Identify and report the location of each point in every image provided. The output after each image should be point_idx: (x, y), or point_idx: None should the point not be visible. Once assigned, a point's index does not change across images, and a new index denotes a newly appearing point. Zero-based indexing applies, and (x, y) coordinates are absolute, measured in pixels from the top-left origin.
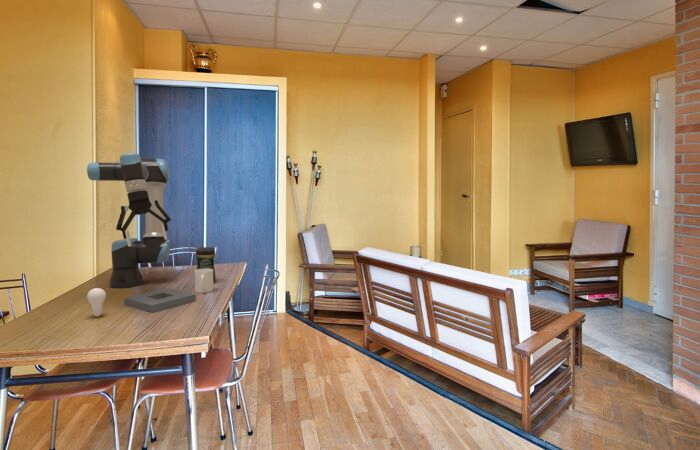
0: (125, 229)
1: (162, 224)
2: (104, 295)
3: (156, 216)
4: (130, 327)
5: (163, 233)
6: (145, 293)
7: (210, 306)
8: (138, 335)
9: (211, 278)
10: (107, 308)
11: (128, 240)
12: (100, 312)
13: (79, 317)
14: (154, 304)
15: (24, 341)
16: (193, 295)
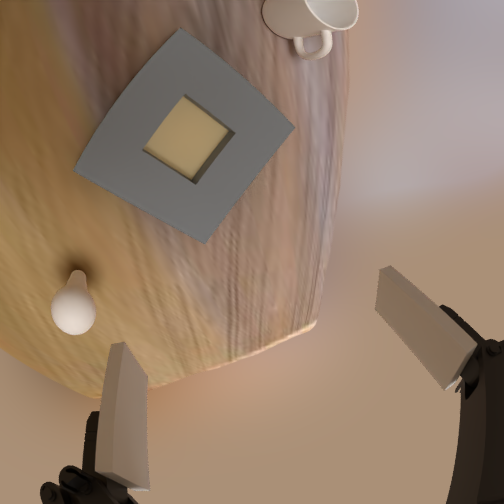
0: (118, 493)
1: (446, 381)
2: (95, 309)
3: (464, 456)
4: (197, 319)
5: (400, 336)
6: (119, 104)
7: (321, 179)
8: (229, 341)
9: (337, 24)
10: (51, 207)
11: (142, 413)
12: (85, 280)
13: (45, 283)
14: (208, 236)
15: (77, 379)
16: (289, 132)
